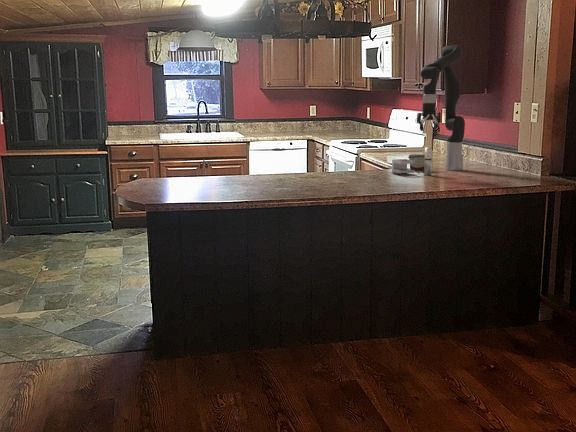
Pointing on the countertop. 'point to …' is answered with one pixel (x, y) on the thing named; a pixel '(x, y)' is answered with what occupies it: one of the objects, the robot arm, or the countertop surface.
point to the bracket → (401, 166)
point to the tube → (428, 161)
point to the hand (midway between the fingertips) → (428, 130)
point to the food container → (417, 162)
